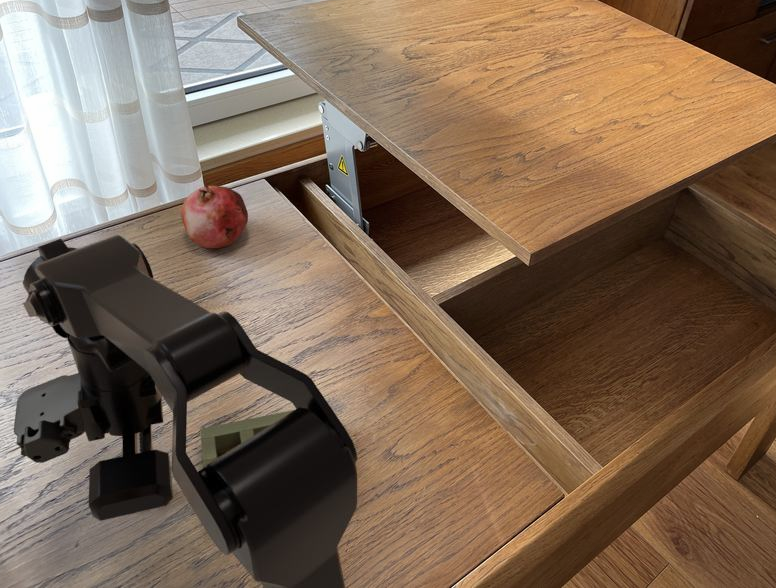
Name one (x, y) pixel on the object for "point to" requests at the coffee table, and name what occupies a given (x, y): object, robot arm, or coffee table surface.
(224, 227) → the fruit
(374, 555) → the coffee table surface
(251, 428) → the rack
